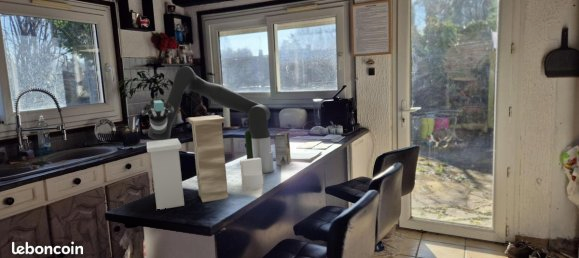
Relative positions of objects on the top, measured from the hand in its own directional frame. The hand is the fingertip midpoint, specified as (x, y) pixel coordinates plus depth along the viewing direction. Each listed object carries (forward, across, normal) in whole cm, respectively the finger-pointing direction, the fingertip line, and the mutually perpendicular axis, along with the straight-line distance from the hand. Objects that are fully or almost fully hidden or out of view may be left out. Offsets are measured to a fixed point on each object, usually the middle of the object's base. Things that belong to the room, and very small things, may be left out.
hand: (157, 101), depth 161 cm
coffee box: (-44, +62, +21) cm, 79 cm away
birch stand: (-8, +17, +41) cm, 45 cm away
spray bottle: (-62, +52, +11) cm, 81 cm away
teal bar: (+5, 0, +6) cm, 8 cm away
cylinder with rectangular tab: (-13, +35, +39) cm, 54 cm away
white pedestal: (-8, 0, +41) cm, 42 cm away
